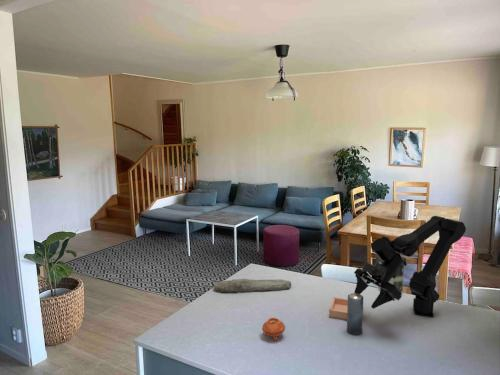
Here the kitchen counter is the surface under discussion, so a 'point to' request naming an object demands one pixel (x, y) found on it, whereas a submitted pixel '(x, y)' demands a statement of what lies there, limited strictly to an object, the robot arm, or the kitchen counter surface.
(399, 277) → the coffee can
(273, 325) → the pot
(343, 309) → the terracotta bin
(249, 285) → the elongated rock
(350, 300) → the dark grey cylinder
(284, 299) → the kitchen counter surface
